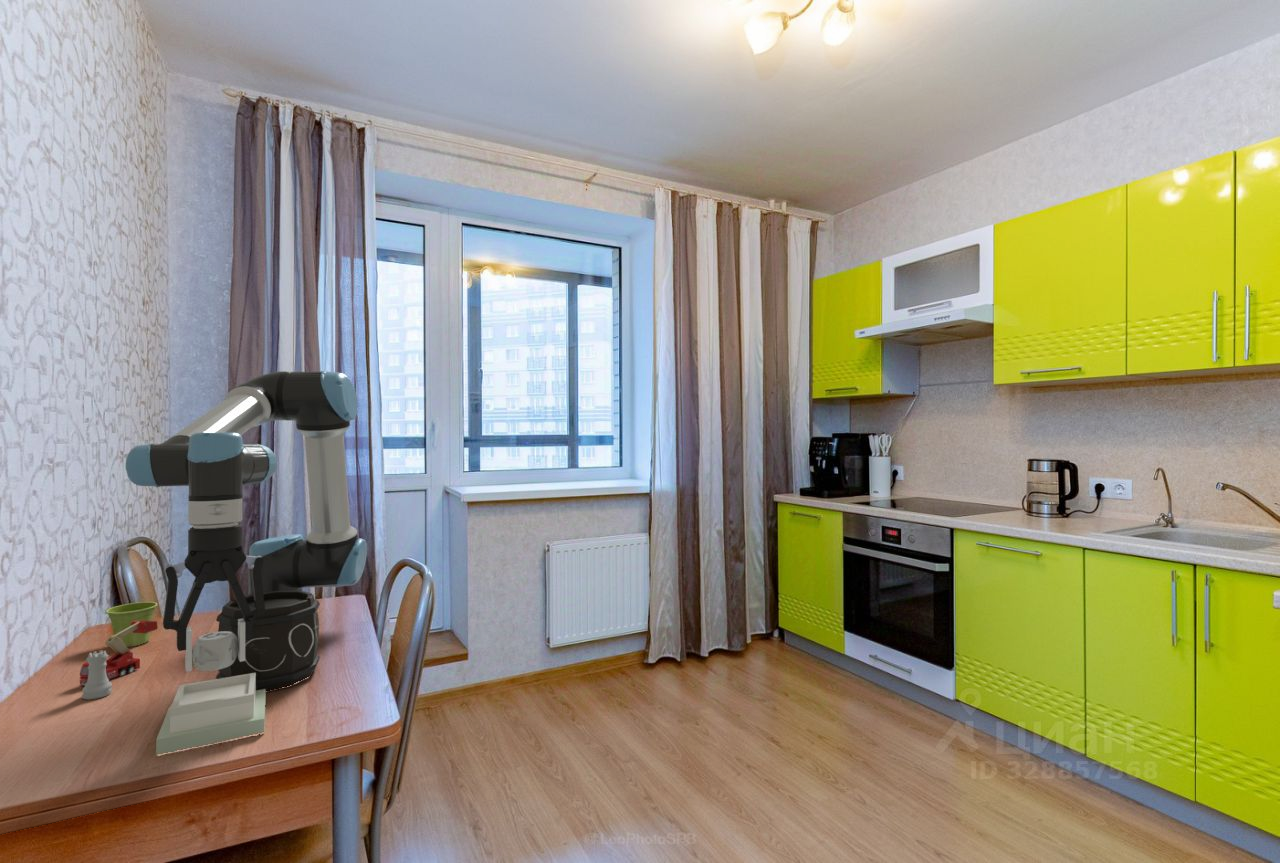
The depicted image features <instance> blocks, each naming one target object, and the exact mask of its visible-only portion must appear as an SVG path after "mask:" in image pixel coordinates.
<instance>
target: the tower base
mask: <svg viewBox="0 0 1280 863" xmlns="http://www.w3.org/2000/svg"><path fill="white" fill-rule="evenodd" d="M266 694H267V692H266V689H262V690H257V691H256V673H250V674H244V675H238V676H232V677H226V678H220V679H217V678H215V679H208V680H202V681H195V682H192V683H191V682H190V683H183V684H179V686H178V689H177V690H176V692H175V696H174V698H173V701H172V703H171V705H169V707H168V710H167V711H166V714H165V717H164V719H163V721H162V724H161V727H160V729H159V732H158V733H157V737H156V740H155V745H156V746H155V756H156V755H158V754H163V753H168V752H174V751H177V750H183V749H187V748H192V747H199V746H203V745H208V744H214V743H217V742H222V741H226V740H230V739H235V738H239V737H243V736H249V735H253V734H258V733H262V732H264V733H265V731H264V729H265V725H266V707H265V705H266V702H267V701H266ZM265 730H266V729H265Z"/></svg>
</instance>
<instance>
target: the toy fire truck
mask: <svg viewBox="0 0 1280 863" xmlns="http://www.w3.org/2000/svg"><path fill="white" fill-rule="evenodd" d="M155 630H158V621H157V620H152V621H133V622H132V623H131V626H130V627H128V628H126V629H125V630H123V631H121V632H119V633H117V634H116V635H114V634H113V635H112V634H111V635H110V636H109V637H108V638H107V640H106V641H105V643H104V644H105V645H106V646H107V647H108V648H109V649H111V650H113V651H114V652H116V653H114V654H113V655H112V656H110V657H108V658H107V659H106V661H105V662H106V663H107V665H106V674H107V678H108V679H109V680H111V679H114V678H117V677H124V676H125V675H126V674H127V673H128V674H132V672H133V673H134V672H135V670H137V669H140V668H141V666H140V665H141V662H140V661H141V659H140V658H138V657H134V654H133V651H131V650H130V649H129V647H127V646H126V645H125V644H124V643H123V641H122V640H121V638H122V637H124V636H126V635H128V634H129V633H131V632H133V633H148V632H150V633H151V632H153V631H155ZM88 666H89V663H88V662H87V661H85V662H84V663H83V664H82V665H81V667H80V671H79V676H80V677H79V685H80V686H84V687H85V684H86V683H87V680H88V675H89V669H88Z"/></svg>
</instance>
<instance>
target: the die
mask: <svg viewBox="0 0 1280 863" xmlns="http://www.w3.org/2000/svg"><path fill="white" fill-rule="evenodd" d="M237 653H238V638H237V636H236V635H235V634H234V633H232V632H229V631H221V632H218V631H214V632H209V633H206V634H202V635H200V636H199V637H198V638H196V640H195V641H194V643H193V645H192V666H194V667H195V669H197V670H198V671H201V672H213V671H219V669H223V668H226V667H228V666H230V665H232V664H233V663H234V661H235V659H236V657H237Z"/></svg>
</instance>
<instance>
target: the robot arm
mask: <svg viewBox="0 0 1280 863" xmlns="http://www.w3.org/2000/svg"><path fill="white" fill-rule="evenodd" d="M357 414H358V399H357V394H356V389H355V386H354V384H353V382H352V380H351V379H350V378H349V377H348V376H347V375H346V374H345V373H342V372H335V371H327V370H326V371H319V370H318V371H273V372H270V373H269V372H268V373H265V374H262V375H259V376H257V377H254V378H252V379H249V380H248V381H245V382H243V383H241V384H239V385H238V386H236V387H235V388H233V389H231V390H230V391H229V392H228V393H227V395H226V396H225V398H224V401H223V402H221V403H219V404H218V405H216V406H215V407H213V408H212V409H210V410H209V411H208V412H206V413H205V414H203V415H202V416H200V417H198V418H197V419H196V420H195V421H194V420H193V422H191V423H190V424H188V425H187V426H186V427H184V428H183V429H181V430H179V431H178V432H177V433H175V434H174V435H172V436H171V437H169V438H168V439H167V440H165V441H163V442H161V443H158V444H157V443H148V444H139V445H136V446H134V447H133V448H131V449H130V451H129V452H128V454H127V456H126V459H125V470H126V475H127V478H128V479H129V481H130V482H131V483H133V485H135V486H138V487H155V488H160V487H188V501H187V504H188V505H187V506H188V507H187V516H188V518H187V519H188V520H187V524H188V525H190V526H192V527H190V528H189V529H188V531H187V538H188V539H187V556H186V557H185V559H184V561H182V562H178V563H176V564H167V565H166V566H165V567H164V571H165V575H166V578H167V585H166V586H167V588H166V595H165V603H164V610H163V617H162V626H163V629H164V630H172V631H175V632H176V649H177V651H178V652H183V651H184V653H185V654H184V655H185V658H184V659H185V660H184V661H185V662H184V666H185V667H184V668H185V672H186V673H188V672H192V671H193V663H192V650H193V629H192V626H188V625H189V623H190V621H191V618H192V615H193V613H194V610H195V608H196V606H197V603H198V601H199V598H200V596H201V593H202V592H203V589H204V587H205V584H211V583H214V582H226V581H227V582H228V585H229V587H230V588H231V591H232V593H233V596H234V599H236V601H237V603H238V605H239V608H240V610H241V612H242V615H243V619H238V659H239V661H240V662H242V661H245V640H246V639H251V638H252V636H253V619H254V618H255V617H257V616H259V615H263V614H264V613H265V604H264V595H263V593H266V592H273V591H303V588H330V587H331V588H332V587H337V588H340V587H349V586H353V585H356V584H357V583H359V581H360V579H361V578H362V575H363V574H364V570H365V567H366V566H365V565H366V562H367V557H368V543H367V540H366V539H363V538H360V537H358V536H359V535H358V530H357V528H355V527H354V526H352V525H351V518H350V516H351V515H350V503H349V502H350V501H349V490H348V489H349V488H348V476H347V474H348V472H347V462H346V461H347V460H346V448H345V433H346V431H348V430H349V428H351V427H350V426H351V421H353V420H355V419H356V417H357ZM273 421H295V427H296V431H298V432H299V433H300V434H302V435H303V437H304V445H305V446H304V447H305V448H304V449H305V460H306V470H307V472H306V473H307V482H308V495H309V507H310V518H311V519H310V520H311V531H310V532H309V533H307V535H306V538H305V540H304V537H303V535H302V534H301V533H300V534H299V533H298V534H286V535H280V536H276V537H271V538H266V539H262V540H258V541H255V542H254V543H253V544H251V545H250V546H249V551H248V555H246V553H245V551H244V549H243V548H244V547H243V544H244V543H243V537H244V536H243V535H244V534H243V530H244V529H243V525H241V524H240V522H242V521H243V486H247V485H248V486H250V485H252V486H255V485H258V484H261V483H263V482H266V481H267V480H269V479H271V477H273V475H274V474H275V472H276V471H277V470H276V469H277V466H278V461H277V457H276V456H277V455H275V453H274V452H273V450H271V448H269V447H268V446H265V445H263V444H258V443H255V442H253V443H249V442H248V443H244V441H243V437H242V436H243V434H245V433H246V432H247V431H249V430H250V429H251V428H254V427H259V426H262V425H264V424H265V423H266V422H273ZM244 563H246V566H247V568H248V595H251V594H253V596H254V604H255V608H253V609H251V610H250V608H249V605H248V603H247V601H246V598H245V596H246V595H244V592H243V589H242V587H241V584H240V582H239V579H238V577H237V575H236V573H238V571H239V569H240V568H241V567H242V565H243V564H244ZM185 569H187V570H188V571H189V572H190V574H192V575H193V576H194V577H195V578H194V580H193V582H192V586H191V588H190V591H189V593H188V596H187V598H186V601H185V604H184V605H183V608H182V610H181V613H180V615H179V618H178V619H175V610H176V602H177V594H178V586H179V585H178V583H179V579H178V578H180V577H182V576H183V572H184V570H185Z"/></svg>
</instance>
